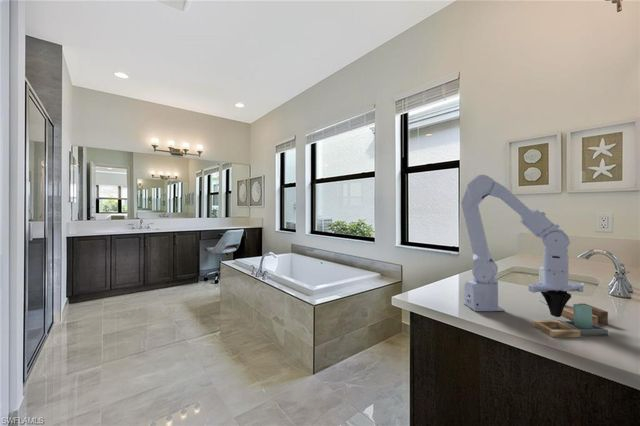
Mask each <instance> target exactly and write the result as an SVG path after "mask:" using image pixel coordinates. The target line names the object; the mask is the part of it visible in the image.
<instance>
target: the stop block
mask: <svg viewBox="0 0 640 426" xmlns="http://www.w3.org/2000/svg"><path fill="white" fill-rule="evenodd" d="M581 304H582V305H588V306H590V307H592V314H593V315H595V316H598V325H608V324H609V311H606V310H604V309H602V308H598V307H595V306H592V305H589V304H587V303H581Z"/></svg>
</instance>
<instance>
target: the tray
mask: <svg viewBox="0 0 640 426" xmlns="http://www.w3.org/2000/svg"><path fill="white" fill-rule="evenodd" d="M560 322H562V323H564V324H566V325H568V326H571V327H573V328H575V329H577V330H579V331H580V337H608V336H609V330H608V329H607V328H605V327H602V326H600V325H598V324H593V323H592V324H593V329H579V328H577V327H574V321H572V320H561V321H560Z"/></svg>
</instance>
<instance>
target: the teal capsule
mask: <svg viewBox="0 0 640 426" xmlns="http://www.w3.org/2000/svg"><path fill="white" fill-rule="evenodd" d="M582 304H583V303H574V304H572V305H573V306H572V308H574V327H577V328H579V329H593V324H592V307H590V306H591V305H590V306H588V305H589V304H587V305H582Z"/></svg>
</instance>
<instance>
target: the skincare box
mask: <svg viewBox="0 0 640 426" xmlns="http://www.w3.org/2000/svg"><path fill="white" fill-rule="evenodd" d="M538 283H543V266H540V267H538ZM538 301H539V302H542V303H543V304H545V305H547V306H548V304H547V302H546V300H545V298H544V296H543V295H542V293H541V292H538Z"/></svg>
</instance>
